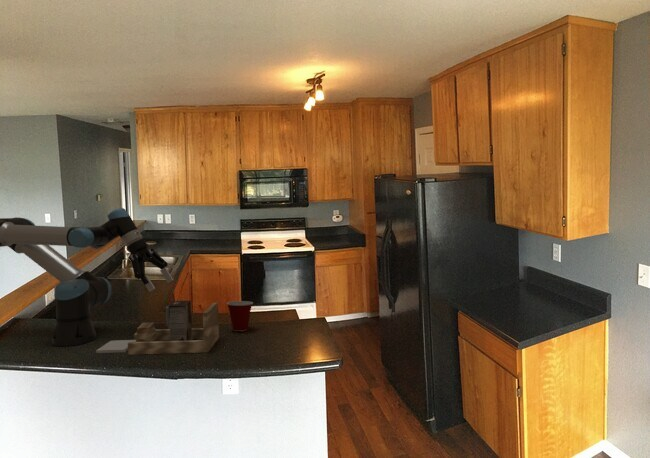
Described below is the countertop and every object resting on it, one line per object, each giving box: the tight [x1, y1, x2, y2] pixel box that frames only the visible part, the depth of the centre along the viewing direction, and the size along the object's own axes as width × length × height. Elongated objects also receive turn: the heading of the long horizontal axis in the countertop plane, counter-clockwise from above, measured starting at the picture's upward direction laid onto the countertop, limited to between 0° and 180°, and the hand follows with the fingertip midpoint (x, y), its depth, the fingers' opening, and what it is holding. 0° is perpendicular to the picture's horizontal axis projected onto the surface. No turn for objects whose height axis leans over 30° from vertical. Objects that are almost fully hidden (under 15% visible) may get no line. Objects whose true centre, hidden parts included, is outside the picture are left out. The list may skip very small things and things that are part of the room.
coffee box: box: [168, 300, 193, 341], centre depth 167 cm, size 9×6×16 cm
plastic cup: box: [226, 300, 254, 331], centre depth 186 cm, size 11×11×12 cm
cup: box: [165, 305, 170, 329], centre depth 190 cm, size 8×8×10 cm
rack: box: [127, 302, 220, 356], centre depth 167 cm, size 28×18×14 cm, turn 92°
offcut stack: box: [133, 321, 158, 342], centre depth 166 cm, size 5×10×8 cm, turn 2°
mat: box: [95, 339, 136, 354], centre depth 166 cm, size 10×12×1 cm
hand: (161, 285), depth 188 cm, fingers open, 13 cm apart
